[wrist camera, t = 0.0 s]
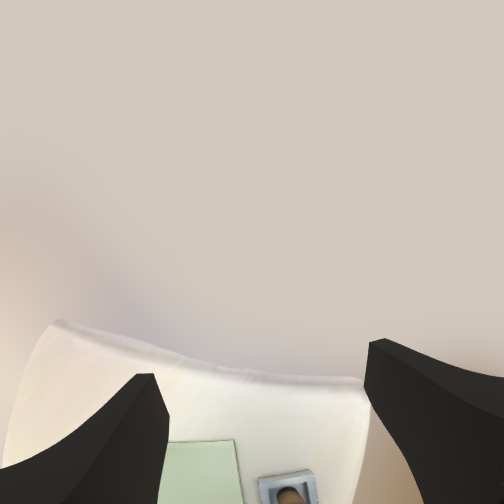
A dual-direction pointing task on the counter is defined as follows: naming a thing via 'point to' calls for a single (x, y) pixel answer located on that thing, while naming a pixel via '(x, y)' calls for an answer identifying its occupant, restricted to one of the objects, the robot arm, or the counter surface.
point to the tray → (200, 474)
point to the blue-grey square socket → (297, 480)
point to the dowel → (289, 496)
